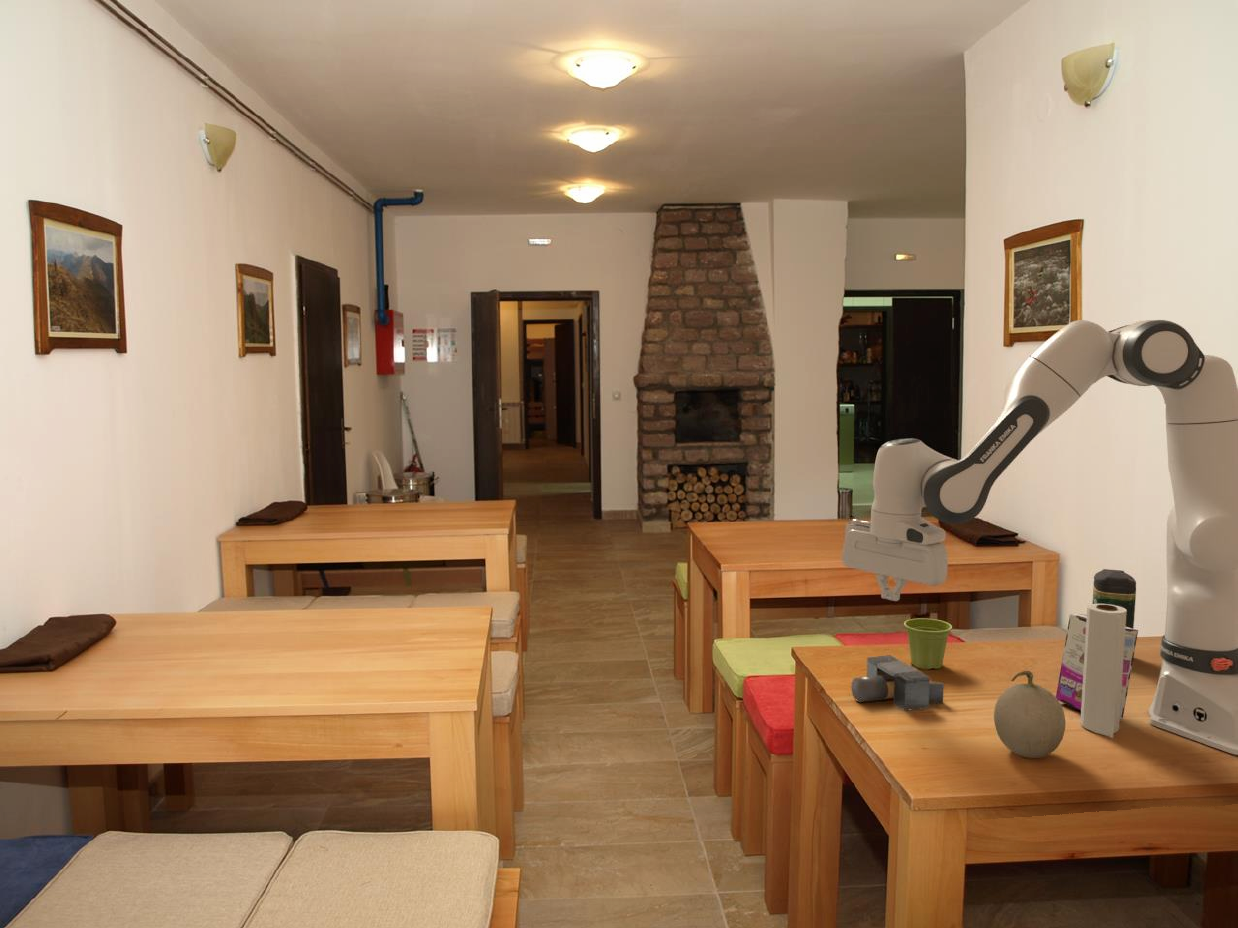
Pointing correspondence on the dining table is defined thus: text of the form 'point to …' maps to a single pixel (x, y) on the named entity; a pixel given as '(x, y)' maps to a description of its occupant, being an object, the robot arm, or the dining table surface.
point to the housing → (906, 682)
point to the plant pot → (927, 641)
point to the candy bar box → (1074, 663)
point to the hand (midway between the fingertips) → (890, 599)
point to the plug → (872, 688)
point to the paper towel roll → (1103, 668)
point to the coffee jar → (1116, 591)
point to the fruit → (1029, 719)
